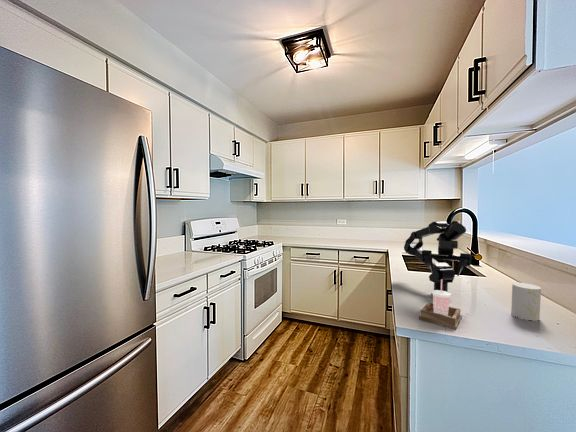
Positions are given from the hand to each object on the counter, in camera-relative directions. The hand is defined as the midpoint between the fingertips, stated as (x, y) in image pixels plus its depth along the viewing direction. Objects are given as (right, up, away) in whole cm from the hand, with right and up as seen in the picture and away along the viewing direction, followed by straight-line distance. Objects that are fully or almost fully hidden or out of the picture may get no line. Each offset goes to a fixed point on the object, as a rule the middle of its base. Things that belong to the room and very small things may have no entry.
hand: (445, 274), depth 112 cm
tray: (-9, -14, -12) cm, 21 cm away
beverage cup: (-9, -13, -12) cm, 20 cm away
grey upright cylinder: (+25, -14, -10) cm, 30 cm away
